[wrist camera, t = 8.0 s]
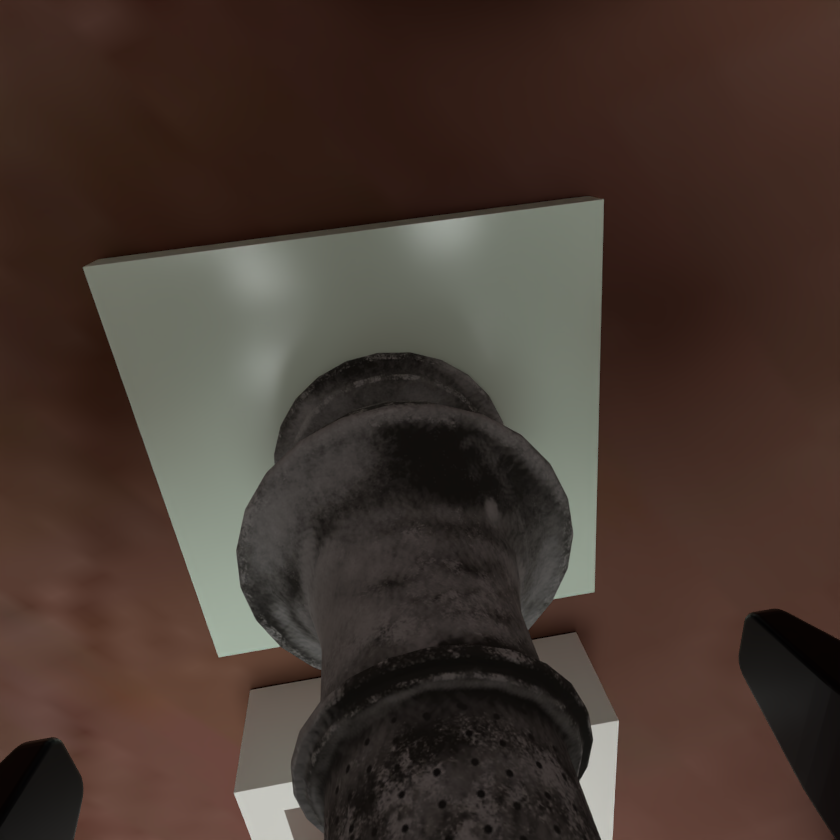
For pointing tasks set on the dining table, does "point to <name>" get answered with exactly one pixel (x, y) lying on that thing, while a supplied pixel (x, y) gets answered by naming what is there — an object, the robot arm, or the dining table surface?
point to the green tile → (352, 356)
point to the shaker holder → (294, 702)
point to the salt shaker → (418, 609)
